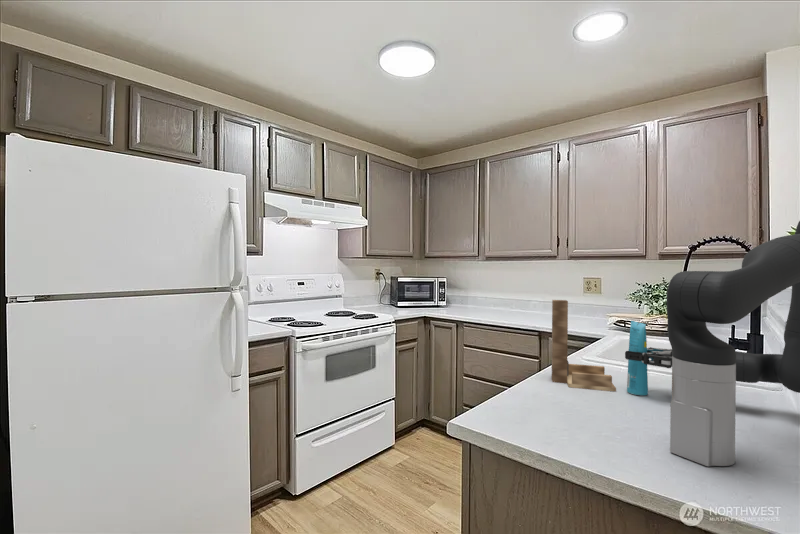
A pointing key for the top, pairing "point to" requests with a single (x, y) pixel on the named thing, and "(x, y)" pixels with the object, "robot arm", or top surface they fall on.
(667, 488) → the top surface
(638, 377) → the tube
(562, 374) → the headboard bracket
